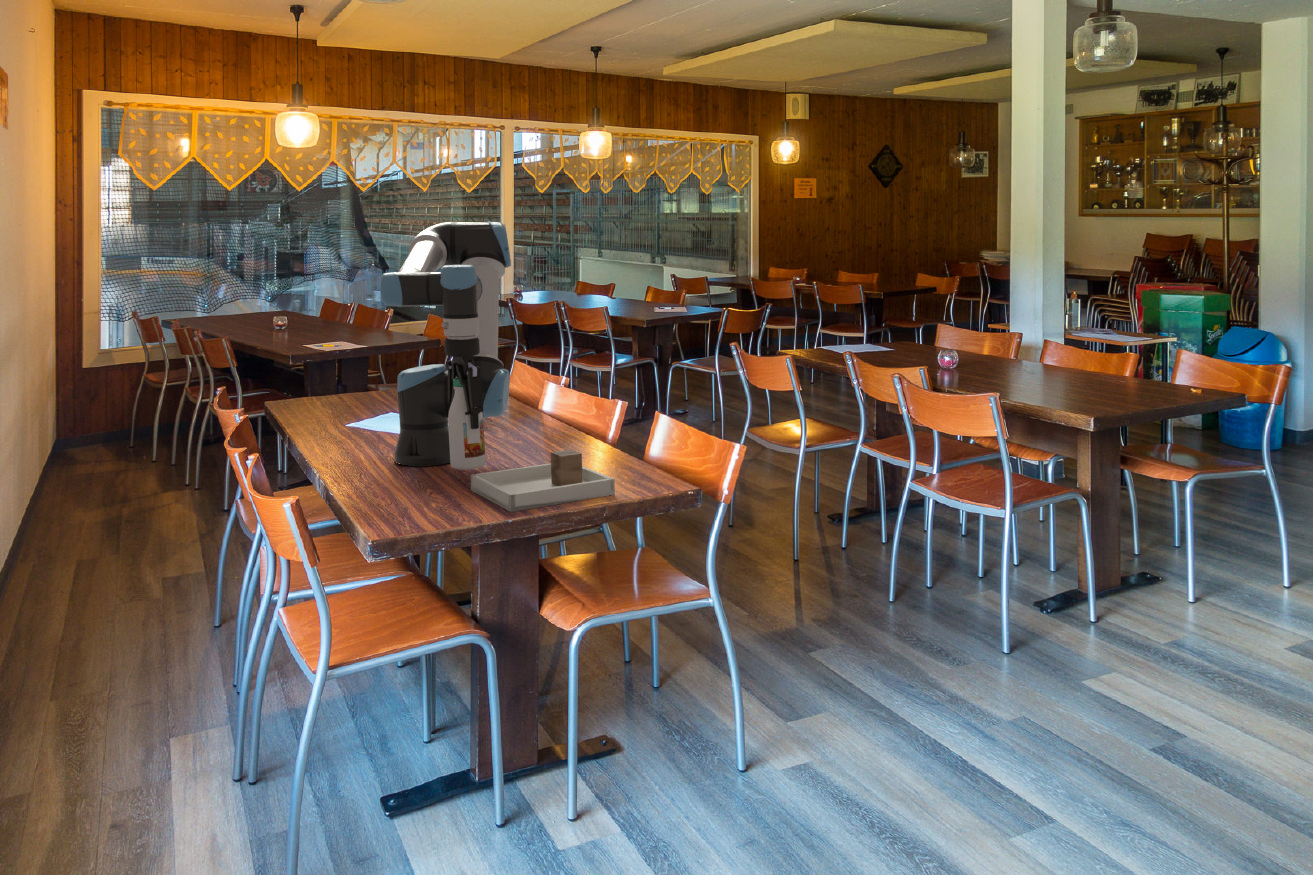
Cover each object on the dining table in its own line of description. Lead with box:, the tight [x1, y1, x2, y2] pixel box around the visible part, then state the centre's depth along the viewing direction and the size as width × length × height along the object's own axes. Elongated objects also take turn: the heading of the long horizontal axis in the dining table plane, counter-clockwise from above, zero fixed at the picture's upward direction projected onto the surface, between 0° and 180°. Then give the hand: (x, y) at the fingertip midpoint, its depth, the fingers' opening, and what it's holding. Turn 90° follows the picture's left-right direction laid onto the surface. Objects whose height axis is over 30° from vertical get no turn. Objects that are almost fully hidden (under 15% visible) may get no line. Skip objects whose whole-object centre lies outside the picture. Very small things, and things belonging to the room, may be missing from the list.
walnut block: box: [550, 449, 583, 486], centre depth 218 cm, size 5×5×7 cm
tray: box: [470, 462, 616, 513], centre depth 216 cm, size 21×24×4 cm
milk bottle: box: [448, 378, 486, 471], centre depth 223 cm, size 8×8×20 cm
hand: (466, 439), depth 223 cm, fingers closed on milk bottle, 7 cm apart
